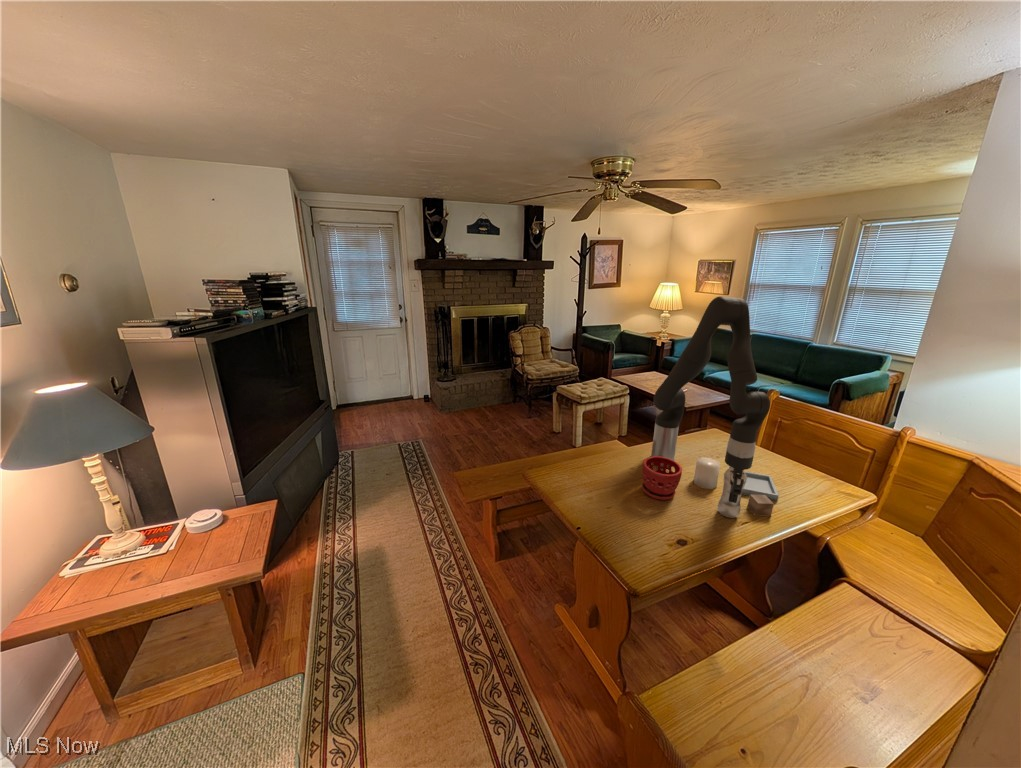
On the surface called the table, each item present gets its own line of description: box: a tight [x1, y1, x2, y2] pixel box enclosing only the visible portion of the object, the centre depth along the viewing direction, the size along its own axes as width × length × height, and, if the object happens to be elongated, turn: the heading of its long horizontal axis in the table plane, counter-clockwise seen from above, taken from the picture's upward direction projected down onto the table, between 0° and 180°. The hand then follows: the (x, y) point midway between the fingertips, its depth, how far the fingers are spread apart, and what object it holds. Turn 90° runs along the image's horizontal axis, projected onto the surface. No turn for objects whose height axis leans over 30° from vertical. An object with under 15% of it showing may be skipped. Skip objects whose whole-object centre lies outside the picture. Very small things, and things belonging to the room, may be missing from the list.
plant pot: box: [641, 456, 683, 501], centre depth 136 cm, size 13×13×12 cm
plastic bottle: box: [717, 467, 747, 519], centre depth 123 cm, size 6×7×20 cm
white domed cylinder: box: [693, 456, 721, 490], centre depth 143 cm, size 8×8×9 cm
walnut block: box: [747, 494, 775, 517], centre depth 127 cm, size 5×5×5 cm
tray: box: [742, 470, 780, 502], centre depth 141 cm, size 14×14×2 cm
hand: (731, 496), depth 124 cm, fingers closed on plastic bottle, 6 cm apart
